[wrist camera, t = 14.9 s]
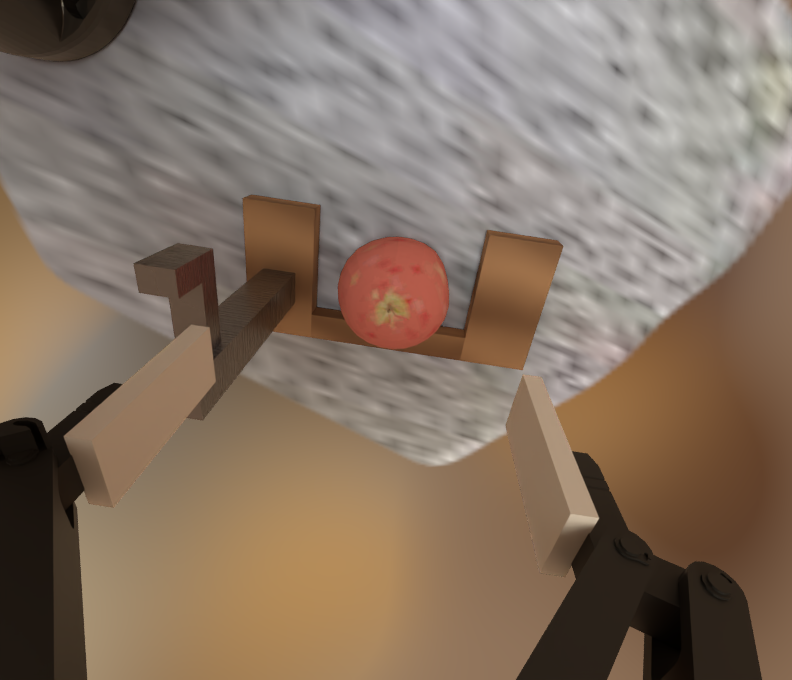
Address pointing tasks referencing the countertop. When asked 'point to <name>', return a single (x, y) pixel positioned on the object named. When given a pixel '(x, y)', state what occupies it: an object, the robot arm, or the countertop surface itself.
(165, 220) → the countertop surface
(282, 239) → the brown u-shaped bracket
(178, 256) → the hook post
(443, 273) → the apple
